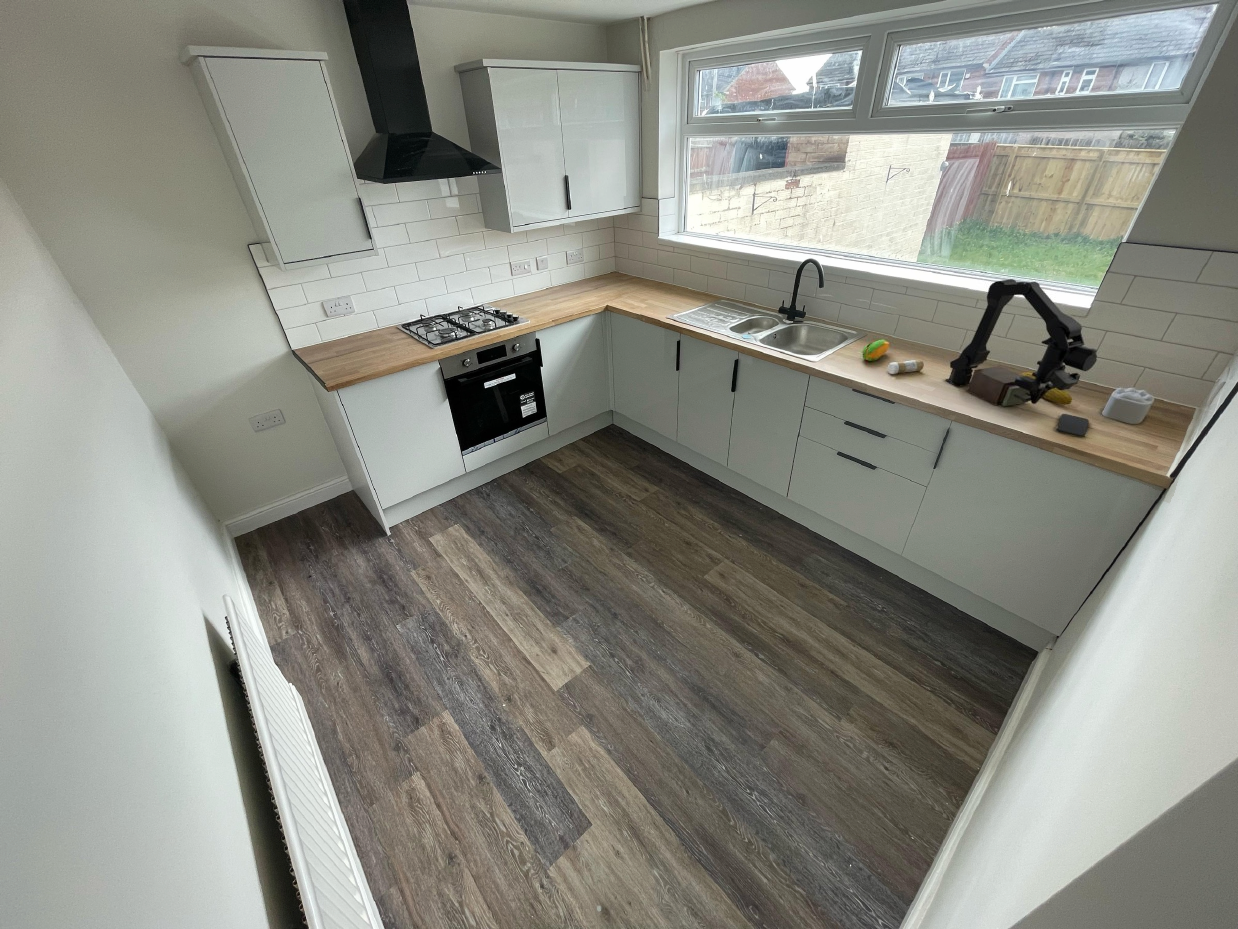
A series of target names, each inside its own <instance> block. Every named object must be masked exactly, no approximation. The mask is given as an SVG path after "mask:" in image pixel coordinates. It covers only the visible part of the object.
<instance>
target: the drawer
mask: <svg viewBox="0 0 1238 929" xmlns="http://www.w3.org/2000/svg"><path fill="white" fill-rule="evenodd" d="M1008 387H1009V386H1008V385H1005V387H1004V389H1003V392H1002V394H1001V397H1000V399H999V402H1003V404H1001V405H1002V406H1004V407H1009V406H1013V405H1019V404H1026V403H1029V402H1031V397H1030V391H1027V390H1025V389H1023V388H1021V387H1018V386H1014V387H1009V389H1008ZM1007 389H1008V391H1007ZM1006 392H1007V394H1006ZM1005 394H1006V396H1005ZM1004 397H1005V399H1004Z"/></svg>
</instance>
